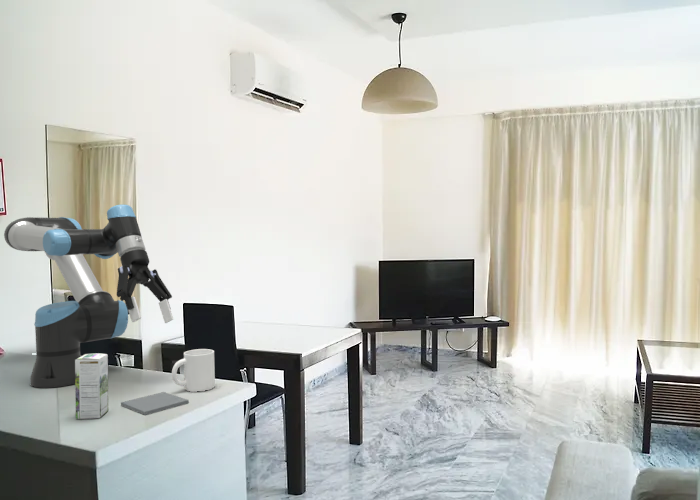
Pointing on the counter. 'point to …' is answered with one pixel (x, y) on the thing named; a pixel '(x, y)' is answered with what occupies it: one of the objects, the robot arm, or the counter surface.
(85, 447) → the counter surface
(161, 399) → the coaster
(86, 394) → the syrup box
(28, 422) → the counter surface
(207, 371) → the mug
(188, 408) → the counter surface
